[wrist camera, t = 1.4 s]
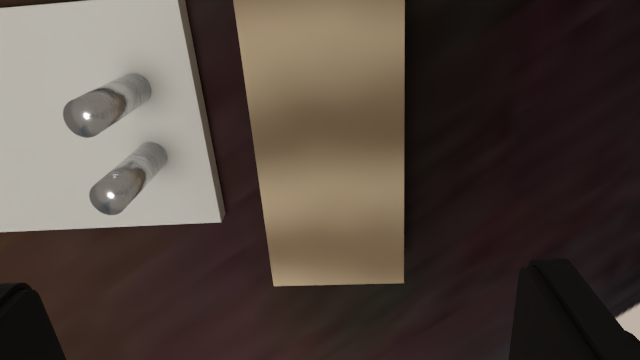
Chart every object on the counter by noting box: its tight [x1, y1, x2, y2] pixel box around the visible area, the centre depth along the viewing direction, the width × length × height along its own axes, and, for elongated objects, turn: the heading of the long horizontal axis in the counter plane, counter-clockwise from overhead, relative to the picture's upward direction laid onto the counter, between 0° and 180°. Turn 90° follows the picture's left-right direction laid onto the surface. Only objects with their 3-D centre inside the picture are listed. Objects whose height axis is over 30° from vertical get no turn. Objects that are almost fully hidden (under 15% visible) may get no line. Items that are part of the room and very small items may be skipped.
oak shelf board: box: [233, 0, 405, 286], centre depth 22 cm, size 18×7×4 cm, turn 4°
